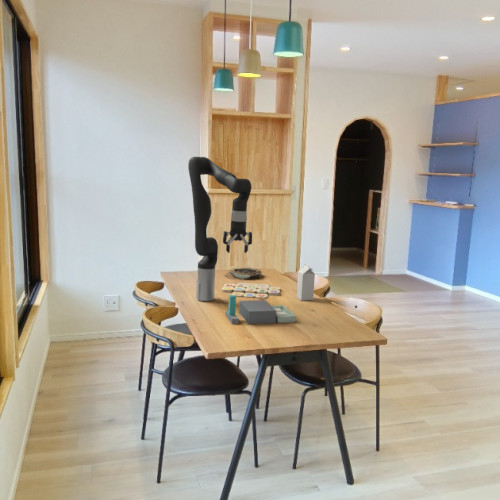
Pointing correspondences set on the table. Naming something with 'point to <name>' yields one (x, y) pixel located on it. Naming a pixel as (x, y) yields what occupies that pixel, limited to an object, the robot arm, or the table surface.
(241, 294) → the alphabet tiles
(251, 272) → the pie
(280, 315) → the ceramic tile
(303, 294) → the milk carton
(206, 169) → the robot arm
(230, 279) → the table surface
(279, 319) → the box
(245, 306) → the block
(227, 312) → the scraper
